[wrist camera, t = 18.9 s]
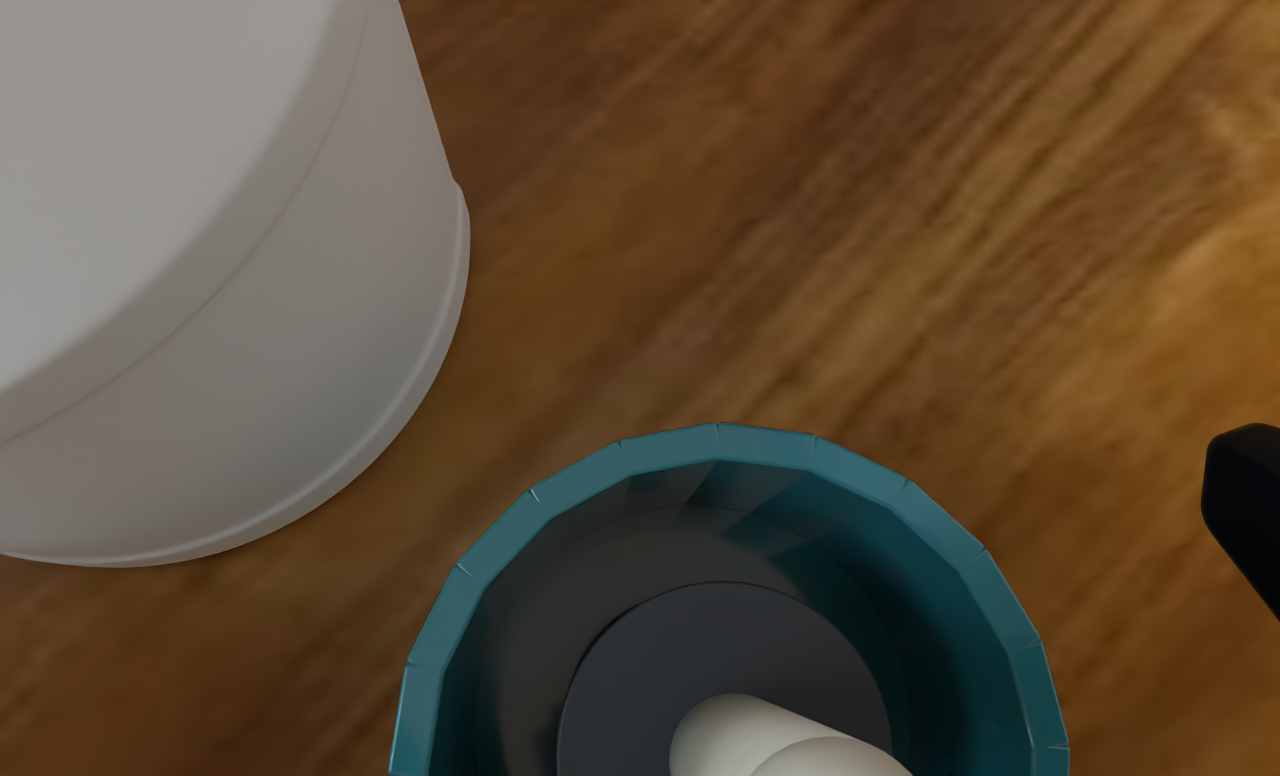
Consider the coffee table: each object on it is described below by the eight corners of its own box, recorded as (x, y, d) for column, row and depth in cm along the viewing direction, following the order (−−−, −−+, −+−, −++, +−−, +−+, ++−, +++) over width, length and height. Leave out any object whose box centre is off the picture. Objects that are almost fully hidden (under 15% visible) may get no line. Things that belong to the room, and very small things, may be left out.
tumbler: (983, 924, 18) (1153, 1052, 12) (491, 1038, 17) (447, 1225, 12) (866, 443, 19) (973, 373, 14) (415, 528, 19) (346, 488, 13)
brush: (866, 655, 18) (1268, 696, 7) (768, 914, 17) (1067, 1392, 6) (628, 549, 18) (685, 437, 8) (518, 799, 17) (406, 1076, 7)
